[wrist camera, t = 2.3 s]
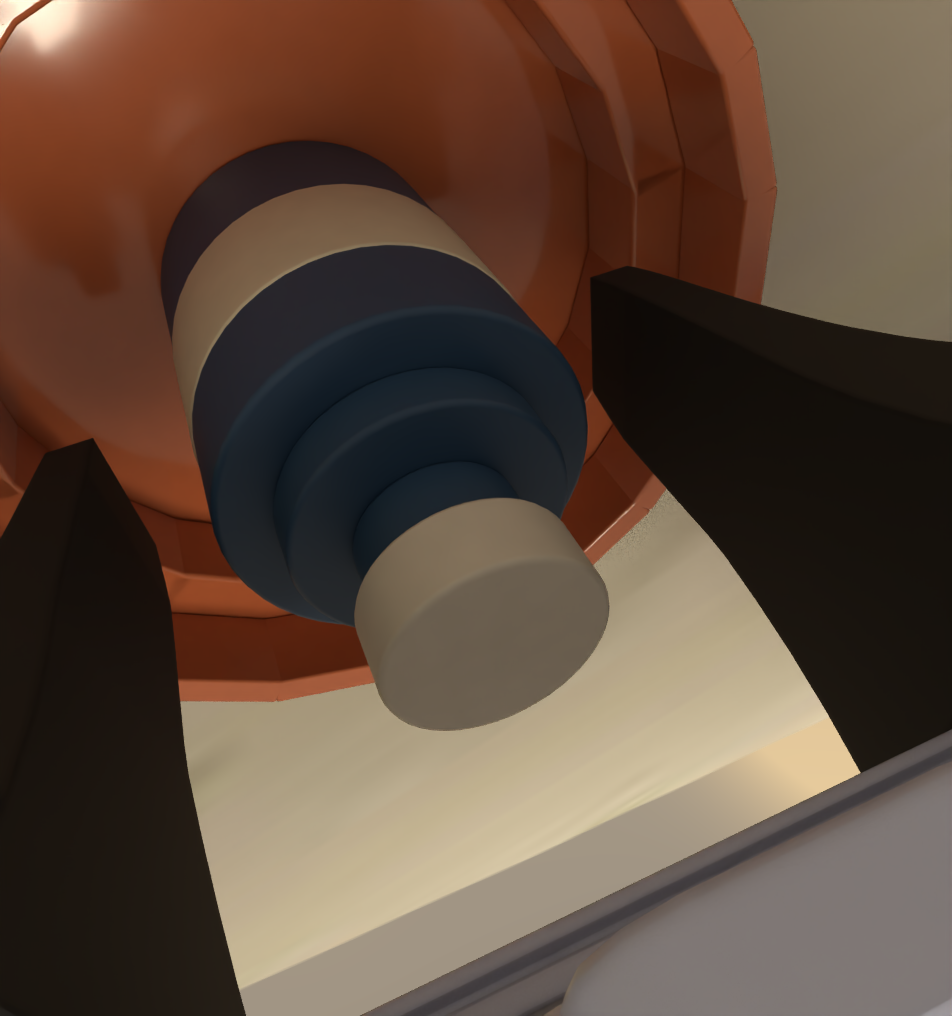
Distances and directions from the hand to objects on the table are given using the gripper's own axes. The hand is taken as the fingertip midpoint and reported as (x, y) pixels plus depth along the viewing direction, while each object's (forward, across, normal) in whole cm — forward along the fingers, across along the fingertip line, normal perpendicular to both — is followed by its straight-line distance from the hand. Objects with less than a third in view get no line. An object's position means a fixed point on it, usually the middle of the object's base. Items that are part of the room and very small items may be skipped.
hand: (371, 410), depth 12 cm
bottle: (+4, 0, 0) cm, 4 cm away
